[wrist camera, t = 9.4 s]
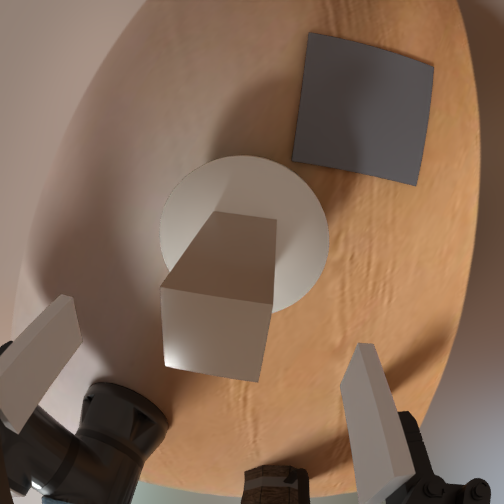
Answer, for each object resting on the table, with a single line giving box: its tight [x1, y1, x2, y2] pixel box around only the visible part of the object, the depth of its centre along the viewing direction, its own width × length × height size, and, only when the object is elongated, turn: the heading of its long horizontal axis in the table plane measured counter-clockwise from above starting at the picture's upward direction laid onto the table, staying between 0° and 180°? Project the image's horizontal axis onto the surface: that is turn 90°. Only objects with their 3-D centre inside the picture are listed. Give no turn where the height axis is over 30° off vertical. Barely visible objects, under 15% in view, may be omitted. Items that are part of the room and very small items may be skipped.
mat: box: [292, 32, 434, 186], centre depth 23 cm, size 12×12×1 cm
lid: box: [159, 155, 329, 382], centre depth 19 cm, size 13×13×12 cm
